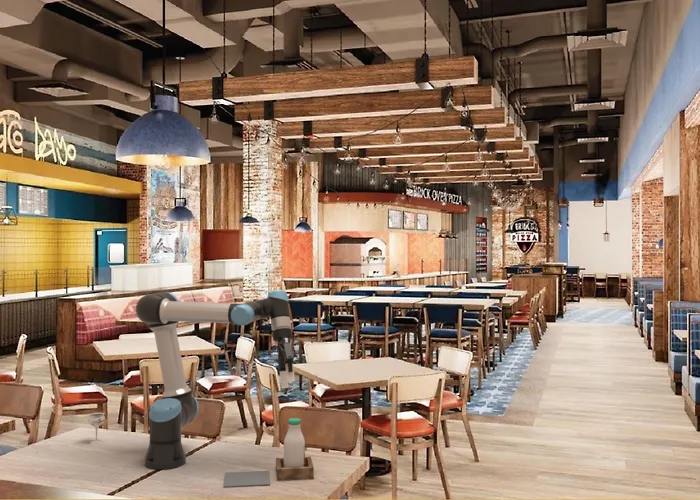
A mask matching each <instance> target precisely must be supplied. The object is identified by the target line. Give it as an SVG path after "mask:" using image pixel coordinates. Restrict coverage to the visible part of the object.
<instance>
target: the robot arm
mask: <svg viewBox="0 0 700 500" xmlns="http://www.w3.org/2000/svg"><path fill="white" fill-rule="evenodd" d="M289 303H290V302H289V297H288V293H287V291H285V290H283V289H273V290H272V291H269V292H268V294H267V297H266V298H263V299H257V300H253V301H246V302H243V303H228V302H227V303H226V302H223V303H222V302H201V301H200V302H198V301H179V299H178V297H177V296H176V295H174V293H171V292H169V291H168V292H167V291H159V292H154V293H148V294H145V295H144V296H143V295H142V297H141V298H140V299H139V300H138V301H137V302H136V305H135V313H136V317H137V318H138V319H139V320H140V321H141V322H142V323H143V324H147V325H148V328H149V329H150V331H152V332H153V333H154V338H155V344H156V351H157V355H158V359H159V365H160V370H161V371H160V372H161V376H162V381H163V387H164V388H163V389H164V392H163V393H162V395H161V398H162V399H158V400H156V401H154V402H153V403H151V404H150V406H149V412H148V417H149V418H148V419H149V445H148V447H147V450H146V455H145V456H144V466H145V467H146V468H148V469H150V470H151V469H152V470H169V469H175V468H179V467H181V466H183V465H185V464H186V462H187V456H186V453H185V449H184V447H183V443H182V428H183V427H185V426H186V425H188V424H190V423H191V422H193V421H194V419H195V418H196V417H197V415H198V413H199V410H200V409H199V408H200V407H199V402H198V400H197V398H196V397H195V396H194V395H193V393H192V388H191V387H188V385H187V382H186V381H187V380H186V376H185V370H184V365H183V359H182V354H181V350H180V349H181V348H180V344H179V338H178V332H177V326H178V325H179V322H180V323H182V322H183V323H212V324H213V323H214V324H235V325H237V326H247V325H249V324H251V323H253V322H256V321H259V320H263V319H268V318H270V324H271V331H272V332H271V334H272V340H273V342H276V343H277V342H278V346H277V364H278V372H279V377H280V385H281V387H280V388H281V389H289V388H290V386H289V383H291V382H296V378H295V377H296V376H295V370H294V360H295V358H294V354H293V350H292V345H291V340H292V339H293V330H292V329H291V328H292V323H293V320H291V314H290V304H289Z"/></svg>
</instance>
